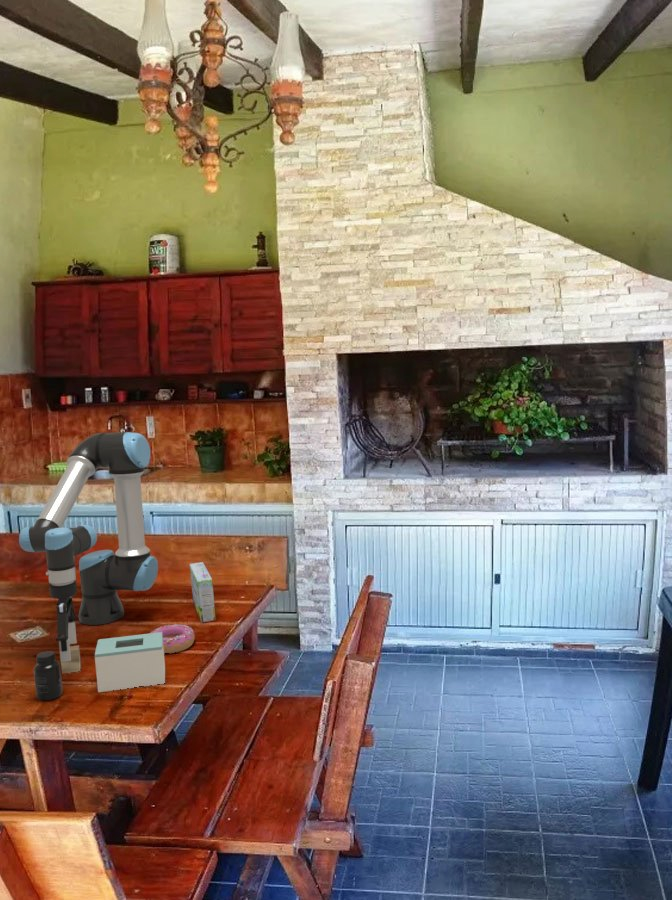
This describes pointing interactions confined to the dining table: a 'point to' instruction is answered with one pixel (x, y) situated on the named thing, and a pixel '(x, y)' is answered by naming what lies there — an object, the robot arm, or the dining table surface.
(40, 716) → the dining table surface
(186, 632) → the donut
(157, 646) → the box
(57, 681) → the supplement bottle
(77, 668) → the beige rectangular block
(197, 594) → the snack box
